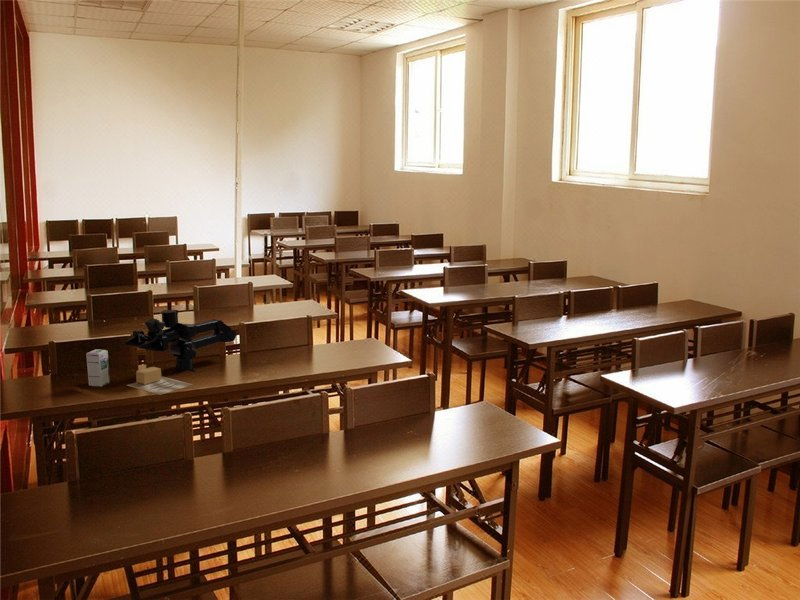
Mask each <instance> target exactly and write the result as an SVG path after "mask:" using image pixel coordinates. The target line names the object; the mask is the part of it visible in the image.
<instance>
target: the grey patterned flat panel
mask: <svg viewBox="0 0 800 600" xmlns="http://www.w3.org/2000/svg"><path fill="white" fill-rule="evenodd" d="M193 385H194V384H193V383H189V382H185V381H180V380H178V379H174V378H169V377H165V376H163V375H161V380H160V381H157V382H154V383H150V384H147V385H144V384H142V383H137V382H133V383H129V384H126V386H128V387H130V388H134V389H138V390H141V391H146V392H149V393H151V394H156V395H158V396H162V395H165V394H167V393H171V392H174V391H177V390H179V389H180V390H181V389H183V388H187V387H190V386H193Z"/></svg>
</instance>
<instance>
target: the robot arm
mask: <svg viewBox="0 0 800 600" xmlns="http://www.w3.org/2000/svg"><path fill="white" fill-rule="evenodd" d="M178 315H179V310H178V309H168V310H167V309H165V310H164V309H163V310H161V320H158V318H153V317H151V318H150V319H148V320H146V321H145V326H146V327H147V329H148V330H147V331H146V334H145V332H144V331H143V330H140V329H135V330H132V337H130V338H129V339H127V340H126V341H124V346H131V347H136V348H137V347H139V349H141V350H147V351H154V352H160V353H161V352H162V353H164V352H167V351H168V350H169V349H170V352H171V353H172V356H173V357H174V358H175V359H176V360H175V371H178V372H183V371H188V372H195V371H196V370H197V369H195V368H194V361H193V360H194V359H195V358H196V357H197V352H196V351H195V350H198V349H201V348H205V347H207V346H211V345H214V344H217V343H232V342H234V341H235V340H236V338H237V332H236V329H233V328H231V327H230V326H229V325H227V324H226V323H224V322H223V320H221V319H216V318H213V319H209V320H205V321H201V322H196V323H181V322H179V316H178ZM210 331H213V333H210V334H205V335H203V336H198V337H196V338H193V337H195V336H196V335H197V334H201V333H205V332H206V333H207V332H210ZM169 343H171V344H170V348H169Z"/></svg>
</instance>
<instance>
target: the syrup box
mask: <svg viewBox="0 0 800 600" xmlns="http://www.w3.org/2000/svg"><path fill="white" fill-rule="evenodd" d="M108 351H109V350H107V349H94V350H91V351H89V352H86V354H85V357H86V367H87V378H88V386H91V387H103V386H106V385H108V384H111V378H110V376H111V375H110V365H109V352H108Z"/></svg>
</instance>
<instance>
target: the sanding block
mask: <svg viewBox="0 0 800 600" xmlns="http://www.w3.org/2000/svg"><path fill="white" fill-rule="evenodd" d="M161 376H162V368H160V367H156V366H150V367H147V368H143V369H139V370H135V377H136V378H135V379H136V382H137V383H142V384H144V385H147V384H150V383H154V382H157V381H160V380H161ZM136 382H135V383H136Z"/></svg>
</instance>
